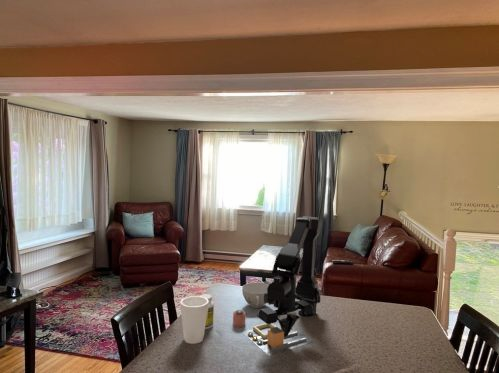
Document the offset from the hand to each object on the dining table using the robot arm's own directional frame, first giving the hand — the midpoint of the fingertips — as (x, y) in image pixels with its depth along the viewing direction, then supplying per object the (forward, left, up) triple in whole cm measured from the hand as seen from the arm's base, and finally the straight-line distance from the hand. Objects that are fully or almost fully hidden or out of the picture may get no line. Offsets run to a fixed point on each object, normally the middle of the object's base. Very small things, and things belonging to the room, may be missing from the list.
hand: (285, 336), depth 117 cm
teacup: (-7, -30, -3) cm, 31 cm away
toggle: (+4, 0, -2) cm, 4 cm away
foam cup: (+26, -17, -3) cm, 31 cm away
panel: (+1, -4, -3) cm, 5 cm away
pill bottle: (+19, -24, -3) cm, 31 cm away
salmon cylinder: (+8, -18, -3) cm, 20 cm away
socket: (+2, -9, -3) cm, 9 cm away
